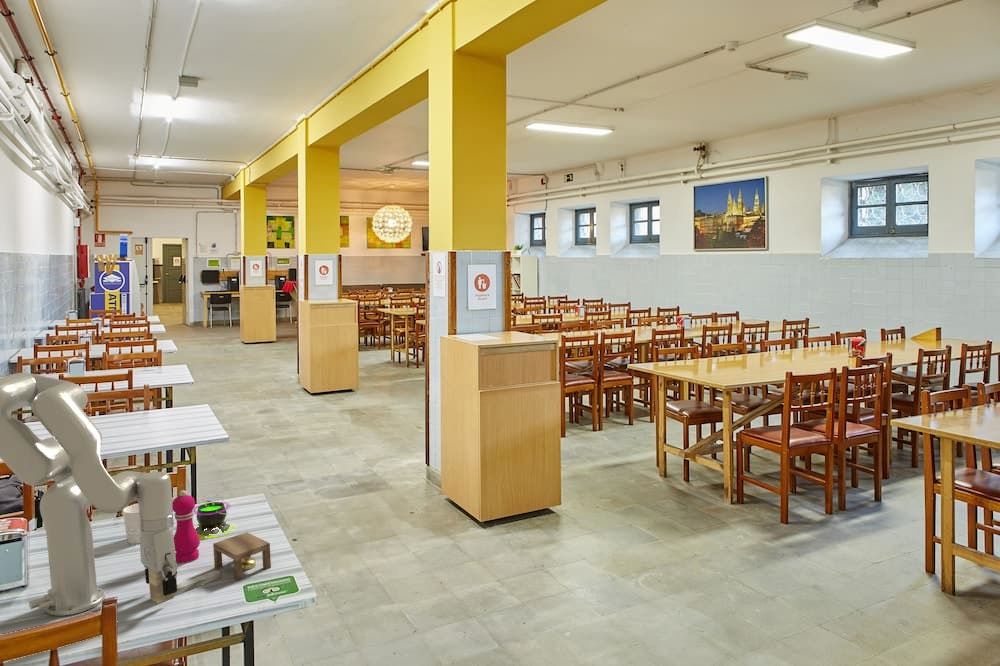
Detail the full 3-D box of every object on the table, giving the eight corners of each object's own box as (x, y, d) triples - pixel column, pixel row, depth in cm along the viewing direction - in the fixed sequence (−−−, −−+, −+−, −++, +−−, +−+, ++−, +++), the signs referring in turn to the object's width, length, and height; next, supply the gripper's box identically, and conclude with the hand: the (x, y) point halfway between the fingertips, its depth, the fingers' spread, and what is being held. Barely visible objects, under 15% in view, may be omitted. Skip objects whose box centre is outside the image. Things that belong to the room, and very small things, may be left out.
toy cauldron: (246, 529, 219) (244, 495, 218) (198, 543, 209) (196, 508, 207) (225, 517, 230) (223, 484, 228) (178, 530, 219) (176, 496, 218)
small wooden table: (237, 580, 185) (235, 555, 184) (214, 567, 192) (213, 543, 192) (270, 567, 192) (269, 543, 191) (247, 555, 200) (246, 532, 199)
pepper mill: (190, 564, 194) (185, 495, 192) (167, 562, 196) (162, 494, 193) (206, 553, 201) (202, 486, 199) (183, 551, 203) (179, 485, 201)
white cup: (159, 537, 213) (157, 506, 212) (134, 547, 206) (132, 514, 205) (145, 532, 217) (142, 501, 216) (120, 541, 211) (117, 509, 209)
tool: (157, 603, 173) (155, 569, 172) (150, 598, 175) (148, 564, 174) (222, 579, 186) (220, 546, 185) (214, 574, 188) (213, 542, 187)
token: (242, 573, 190) (242, 566, 189) (233, 567, 193) (232, 561, 193) (259, 566, 193) (258, 560, 193) (249, 561, 197) (249, 555, 196)
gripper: (126, 518, 176) (131, 582, 178) (156, 536, 165) (161, 604, 167) (156, 509, 182) (161, 572, 184) (188, 526, 171) (192, 592, 173)
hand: (161, 587), depth 175 cm, fingers open, 9 cm apart
